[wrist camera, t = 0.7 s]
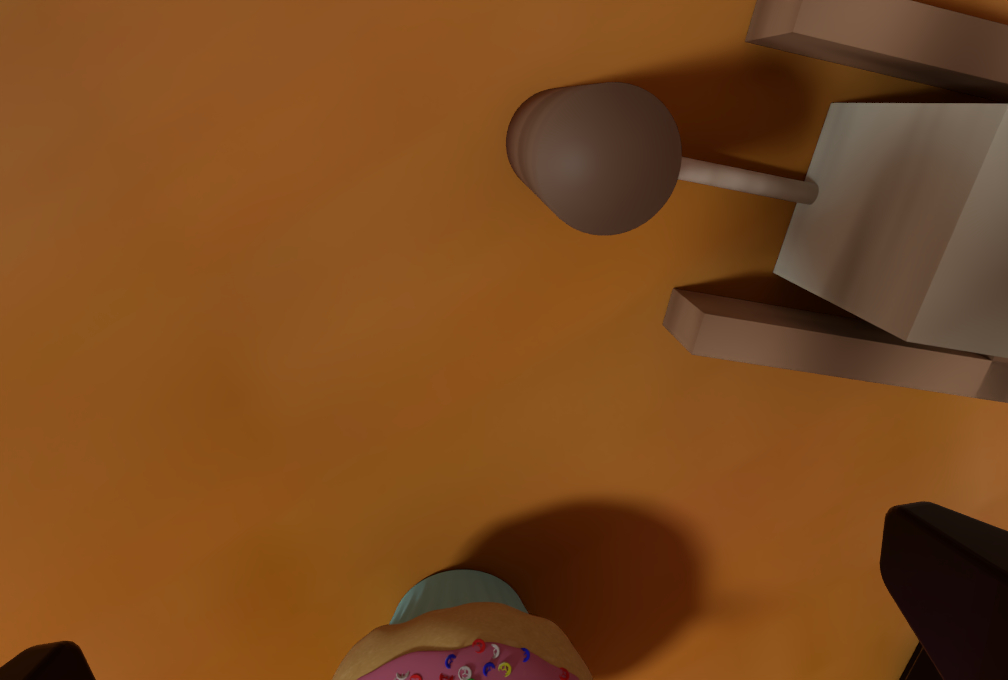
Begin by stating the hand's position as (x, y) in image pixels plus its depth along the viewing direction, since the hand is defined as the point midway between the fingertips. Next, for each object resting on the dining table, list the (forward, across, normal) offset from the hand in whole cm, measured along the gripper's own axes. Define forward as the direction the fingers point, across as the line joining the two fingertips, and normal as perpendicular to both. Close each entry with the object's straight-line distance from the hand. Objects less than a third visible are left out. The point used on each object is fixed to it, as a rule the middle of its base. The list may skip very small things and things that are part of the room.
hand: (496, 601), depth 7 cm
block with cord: (+13, -8, -2) cm, 15 cm away
